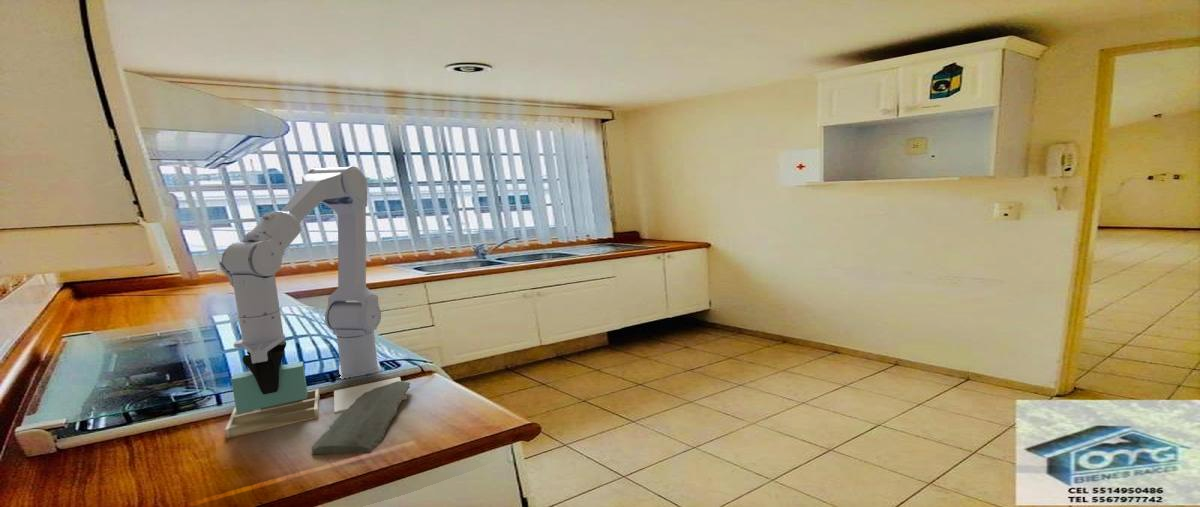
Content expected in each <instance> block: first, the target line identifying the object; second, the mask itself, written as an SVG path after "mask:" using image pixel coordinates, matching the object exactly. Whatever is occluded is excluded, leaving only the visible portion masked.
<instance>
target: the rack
mask: <svg viewBox="0 0 1200 507" xmlns="http://www.w3.org/2000/svg"><path fill="white" fill-rule="evenodd" d="M320 397H321V396H320V389H319V388H315V389H309V390H307V399H304V401H299V402H294V403H290V404H285V405H280V406H276V407H271V408H267V409H262V410H257V411H253V410H251V411H246V412H242V413H237V411H236V405H234V408H233V410H232V413H231V415H230V417H229V420H228V422H227V424H226V427H225V428H224V432H225V438H226V440H227V439H230V438H234V437H235V438H236V437H240V436H243V435H248V434H252V433H256V432H261V431H265V430H269V429H274V428H279V427H283V426H287V425H291V424H295V423H299V422H303V421H304V422H305V421H308V420H312V419H317V418H319V414H320Z"/></svg>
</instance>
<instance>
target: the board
mask: <svg viewBox="0 0 1200 507" xmlns="http://www.w3.org/2000/svg"><path fill="white" fill-rule="evenodd" d="M247 371H248V370H247ZM247 371H244V372H237V373H234V374H233V375H232V376H231V380H230V381H231V386H232V392H233V398H234V404H235V405H236V411H237V413H242V412H246V411H251V410H256V409H260V408H265V407H270V406H274V405H279V404H283V403H288V402H293V401H297V400H302V399H307V391H308V389H307V388H308V387H307V386H308V385H307V380H306V373H305V366H304V361H298V362H294V363H292V362H291V363H288V364H281V366H280V368H279V386H278V391H277V392H274V393H269V394H263V393H262V392H261V390H260V388H259V385H258V383H257V381H256V379H255V377H254V375H253V373H252V372H251V371H248V372H247ZM235 405H234V406H235Z"/></svg>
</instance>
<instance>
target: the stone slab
mask: <svg viewBox="0 0 1200 507" xmlns="http://www.w3.org/2000/svg"><path fill="white" fill-rule="evenodd" d="M410 385H411V382H408V381H402V380H401V381H397V382H394V383H391V384H388V385H385V386H381V387H377V388H375V389H372V390H371V391H369V392H365V393H364V394H363V395H361V396H360V397H359V398H357V399H356V401H355V402H354V403H353V404H352V405H351V406H350V407H349V409H348V410H346V411H343V412H341V414H340V415H339V416H338V417H337V418H336V419H335V420H334V421H333V423H332V424H331V425H329V427H328V429H327V431H326V432H324V433H323V434H321V436H320V438H318V439H317V441H316V442H315V443H314V444H313V446H311V453H312V454H316V455H336V454H352V453H367V454H371V453H372V450H373V449H375V448H378V446H379V445H380V443H382V441H383V439H384V438H385V434H386V431H387V429H388V428H389V426H390V424H391V421H392V419H393V418H394V416H396V414H397V412H398V411H397V410H398V408H399V406H400V404H402V401H404V400H403V398H404V395H405V393H406V394H407V392H408V390H409V389H410V388H411V386H410Z"/></svg>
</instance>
